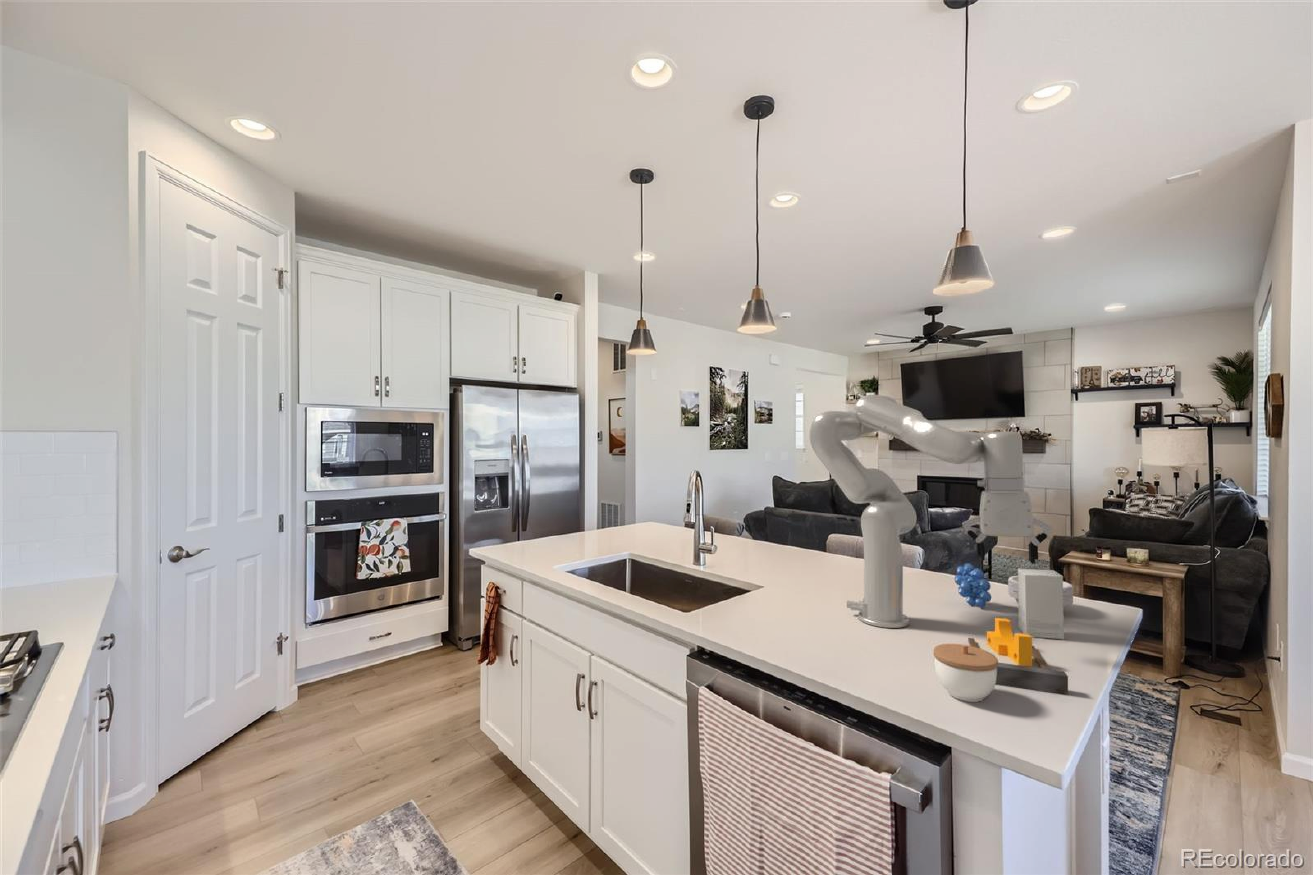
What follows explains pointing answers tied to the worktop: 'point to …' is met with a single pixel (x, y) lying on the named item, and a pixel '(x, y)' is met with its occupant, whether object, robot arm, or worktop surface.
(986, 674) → the lidded jar
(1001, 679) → the rail
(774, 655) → the worktop surface
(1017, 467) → the robot arm
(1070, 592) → the paper bowls
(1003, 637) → the pipe clamp
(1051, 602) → the skincare box
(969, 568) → the grapes
